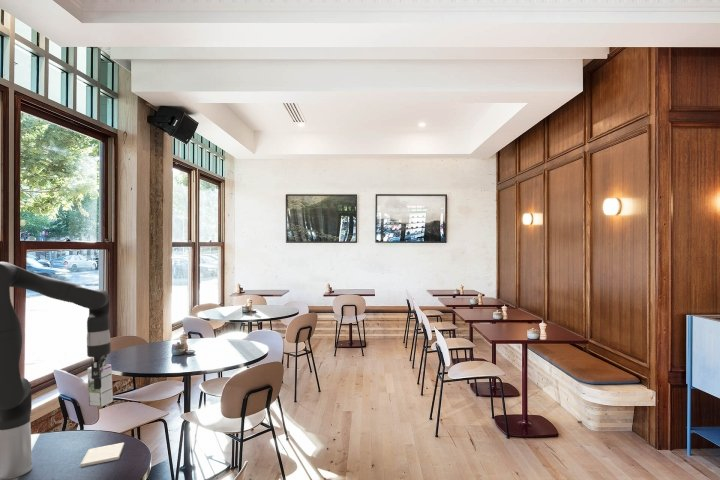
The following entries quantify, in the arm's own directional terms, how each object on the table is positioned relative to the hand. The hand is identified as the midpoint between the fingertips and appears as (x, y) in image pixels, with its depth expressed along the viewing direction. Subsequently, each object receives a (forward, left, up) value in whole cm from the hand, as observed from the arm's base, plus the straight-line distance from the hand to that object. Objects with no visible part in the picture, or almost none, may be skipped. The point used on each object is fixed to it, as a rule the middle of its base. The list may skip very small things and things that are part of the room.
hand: (100, 385), depth 155 cm
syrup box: (0, 0, -7) cm, 7 cm away
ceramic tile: (0, 0, -27) cm, 27 cm away
